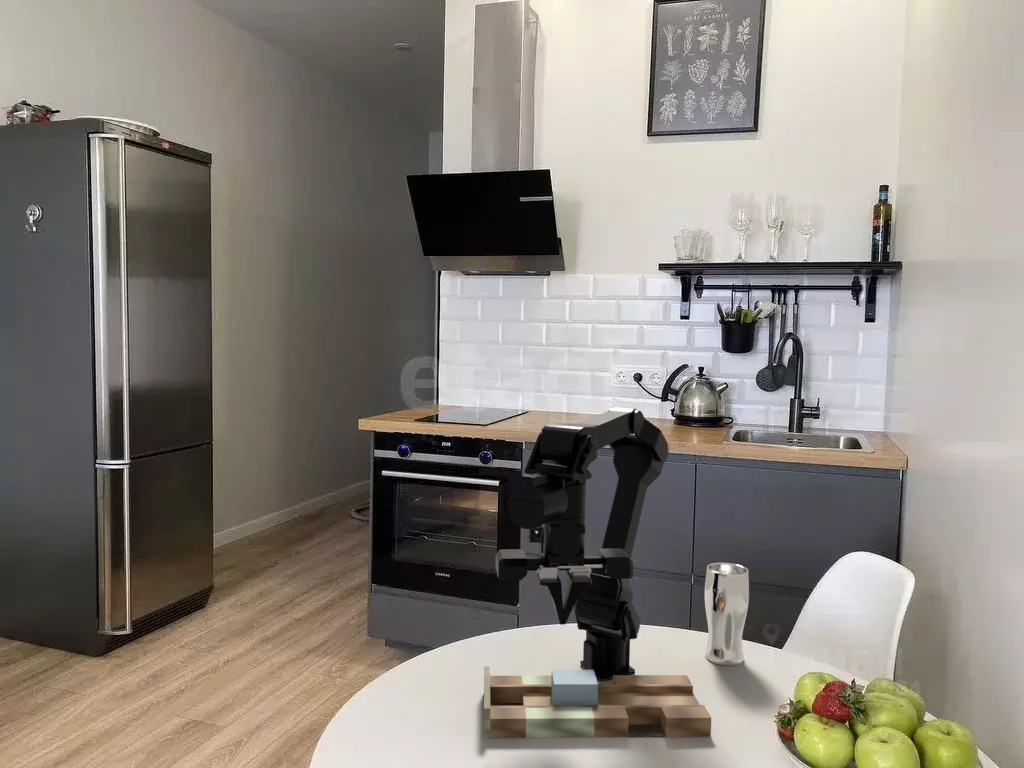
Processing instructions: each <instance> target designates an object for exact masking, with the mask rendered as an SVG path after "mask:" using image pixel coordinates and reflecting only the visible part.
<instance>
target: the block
mask: <svg viewBox="0 0 1024 768" xmlns="http://www.w3.org/2000/svg"><path fill="white" fill-rule="evenodd" d="M550 676H551V695H552V702H553V705H597V702H598V684H599V682H598V680H597V677H596V676H595V673H594V670H587V669H551V675H550Z"/></svg>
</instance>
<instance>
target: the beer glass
mask: <svg viewBox="0 0 1024 768" xmlns="http://www.w3.org/2000/svg"><path fill="white" fill-rule="evenodd" d="M749 585H750V579H749V568H747V567H745V566H743V565H741V564H737V563H731V562H713V563H709V564H708V565H706V574H705V582H704V608H705V613H706V614H705V615H706V621H707V622H706V623H707V627H708V635H707V636H708V638H707V639H708V640H707V645H706V648H705V652H704V653H705V658H706V659H707V660H708V661H709V662H711V663H713V664H717V665H720V666H727V667H731V666H739V665H741V664H742V663H743V662H744V651H743V640H742V639H743V632H744V627H745V622H746V618H747V613H748V608H749V602H750V600H749V599H750V586H749Z"/></svg>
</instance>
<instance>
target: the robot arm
mask: <svg viewBox="0 0 1024 768" xmlns="http://www.w3.org/2000/svg"><path fill="white" fill-rule="evenodd" d="M607 446H608V447H609V448H610V449H611V451H612V452H613V457H612V464H613V466H614V469H615V472H616V475H617V483H616V486H615V492H614V496H613V499H612V503H611V508H610V512H609V516H608V519H607V525H606V528H605V532H604V536H603V540H602V544H601V548H598V549H597V553H596V554H597V555H585V538H586V536H585V534H586V493H587V492H586V491H587V490H586V489H587V488H586V487H587V485H586V482H587V480H590V479H591V478H592V477H593V474H592V473H591V472H590V470H588V468H589V466H590V464H592V463H593V462H594V461H595V460H597V459H598V451H599V450H600V449H603V448H604V447H607ZM668 456H669V444H668V441H667V439H666V437H665V435H664V434H663V432H662V430H661V429H660V428H659V427H657V426H656V425H654V423H653V422H651V421H649V420H648V419H646V418H645V416H644V414H643V412H642V410H638V409H637V408H631V407H629V408H628V407H613V408H609V409H608V411H606V412H603V413H601V414H598V415H595V416H592V417H590V418H587V419H585V420H583V421H580V422H577V423H574V422H573V423H572V422H571V423H569V422H558V423H557V422H556V423H555V422H554V423H553V422H551V423H546V425H544V426H543V427H542V428H541V431H540V432H539V434H538V436H537V438H536V441H535V443H534V446H533V448H532V451H531V453H530V455H529V458H528V460H527V463H526V466H525V468H524V475H521V476H520V485H517V486H516V487H514V489H512V490H511V492H510V493H509V496H508V499H507V502H506V506H507V508H506V509H507V513H508V515H509V518H510V519H511V521H512V522H513V523H514V524H515V525H516V526H517V527H519V528H521V529H523V530H527V544H528V545H539V553H540V554H543V555H542V556H527V555H526V553H525V549H523V548H519V549H518V548H517V549H516V548H514V549H513V548H509V549H499V550H498V551H497V552H496V554H495V571H496V575H497V578H498V580H500V581H522V580H523V579H524V578H526V576H527V575H528V572H529V571H530V572H533V571H534V572H535V577H536V578H537V581H538V584H539V585H540V586H544V587H547V589H548V591H549V594H550V596H551V597H550V598H551V600H552V603H553V606H554V610H555V613H556V617H557V621H558V623H559V625H561V626H562V625H566V624H567V622H568V619H569V618H570V615H571V613H572V610H574V614H575V620H576V626H577V630H580V631H581V630H582V631H585V640H584V641H583V649H582V650H583V653H582V654H583V655H582V656H583V657H582V659H581V660H580V662H579V663H580V664H579V665H580V666H581V667H583V668H584V670H594V673H595V676H596V679H598V681H604V680H609V679H613V675H634V674H635V673H636V669H635V668H633V667H632V666H631V665H630V655H631V654H630V653H631V652H630V651H631V650H630V649H631V648H630V647H631V640H636V639H637V638H638V634H639V631H640V628H641V617H640V616H639V614H638V613H637V611H636V609H635V607H634V606H633V597H634V592H633V590H632V586H631V582H630V580H631V579H633V578H634V561H633V559H632V554H633V550H634V545H635V541H636V536H637V533H638V528H639V524H640V519H641V516H642V511H643V507H644V503H645V499H646V495H647V490H648V487H650V485H651V484H652V483H654V481H656V480H657V479H658V478H659V477H660V475H661V474H662V471H663V467H664V464H665V462H666V461H667V459H668ZM559 571H564V589H562V588H563V587H562V581H561V579H560V577H559V575H558V574H559ZM629 579H630V580H629Z"/></svg>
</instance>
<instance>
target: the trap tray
mask: <svg viewBox="0 0 1024 768" xmlns="http://www.w3.org/2000/svg"><path fill="white" fill-rule="evenodd" d="M483 670H484V671H483V674H484V675H483V676H484V677H483V685H484V686H483V739H519V738H520V739H521V738H522V739H529V738H531V739H533V738H537V739H539V738H545V739H548V738H550V739H551V738H552V739H553V738H555V739H556V738H562V739H563V738H681V737H682V738H691V737H692V738H694V737H695V738H697V737H698V738H700V737H701V738H702V737H703V738H708V737H709V738H710V737H711V735H712V717H711V715H710V713H709V711H708V710H707V708H706V706H705V704H700V703H699V701H698V699H697V697H696V695H695V694H694V685H693V683H692V682H691V680H690V678H689V677H688V675H687V674H674V675H673V674H665V675H663V674H661V675H660V674H653V675H652V674H649V675H647V674H646V675H645V674H643V675H641V674H639V675H637V674H635V675H634V674H629V675H613V678H612V684H609V683H608V684H606V683H605V684H603V683H602V684H601V683H600V684H599V683H598V702H597V705H553V702H552V695H551V675H491V672H490V671H491V667H490V666H489V665H486V666H484V667H483Z"/></svg>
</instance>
